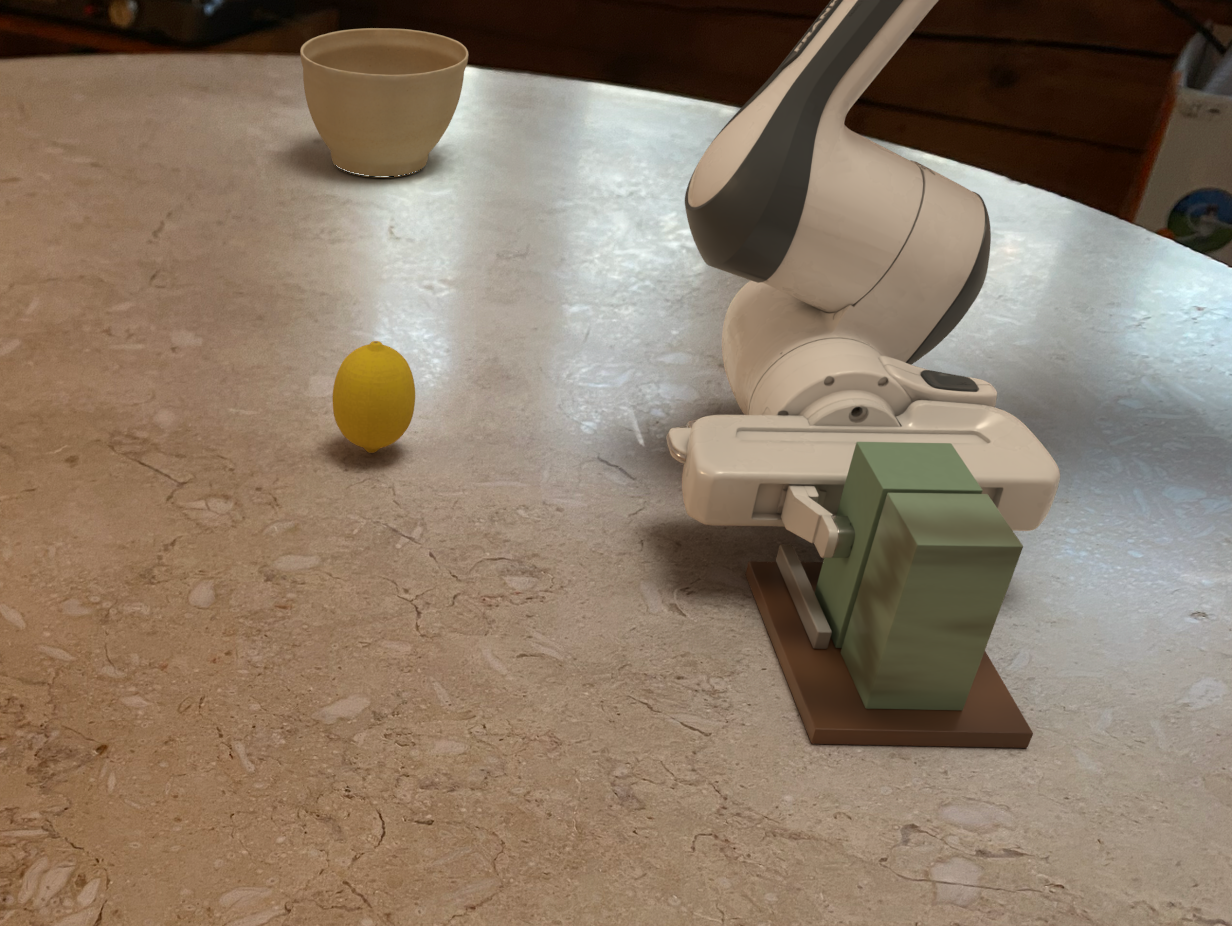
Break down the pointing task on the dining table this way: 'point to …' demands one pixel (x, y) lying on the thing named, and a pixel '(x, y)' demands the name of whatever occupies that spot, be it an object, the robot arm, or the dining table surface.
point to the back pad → (863, 503)
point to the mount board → (841, 698)
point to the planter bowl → (382, 95)
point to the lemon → (373, 396)
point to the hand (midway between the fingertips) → (900, 548)
